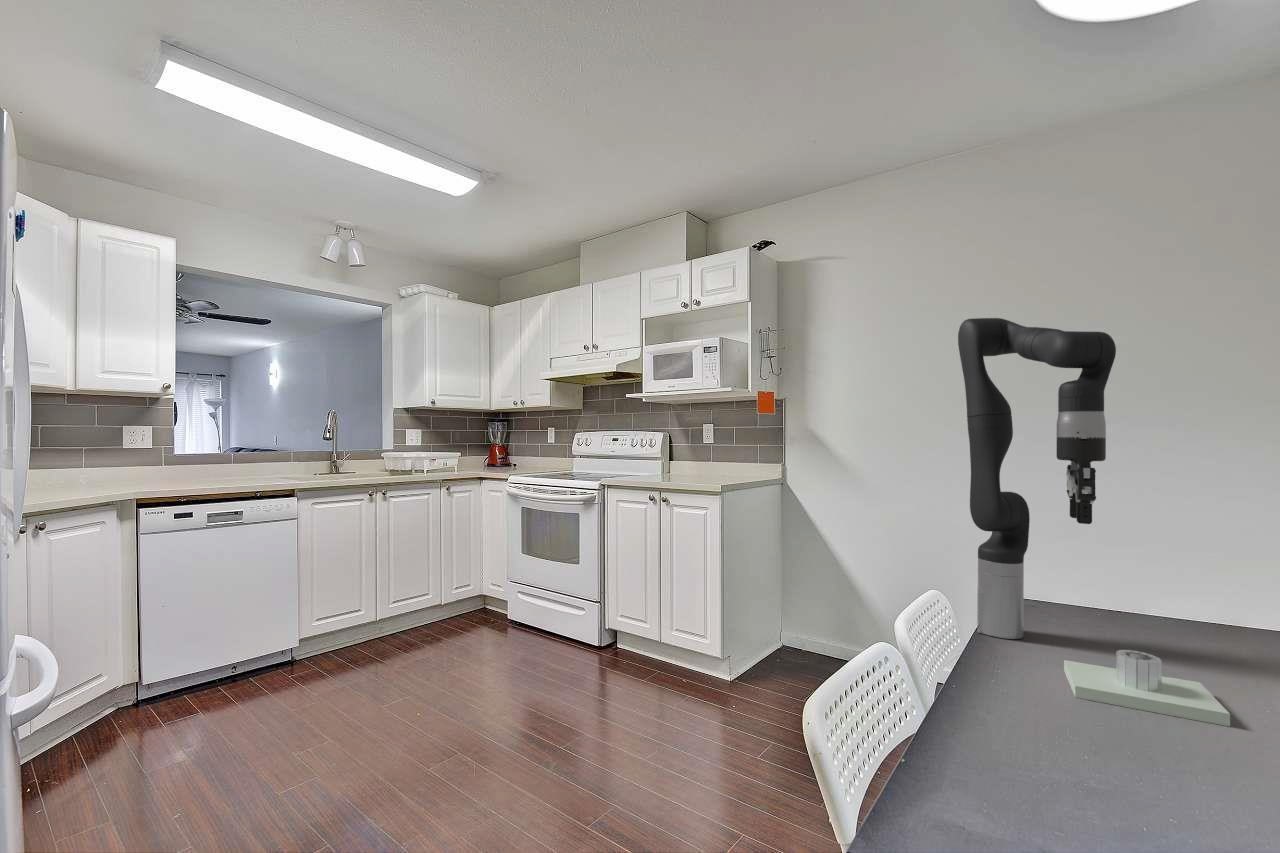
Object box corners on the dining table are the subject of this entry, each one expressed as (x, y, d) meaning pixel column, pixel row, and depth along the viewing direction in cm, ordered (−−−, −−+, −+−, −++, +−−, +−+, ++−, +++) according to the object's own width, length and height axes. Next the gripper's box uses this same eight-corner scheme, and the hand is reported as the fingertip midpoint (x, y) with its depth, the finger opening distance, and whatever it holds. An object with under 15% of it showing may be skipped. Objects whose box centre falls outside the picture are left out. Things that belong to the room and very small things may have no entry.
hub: (1120, 686, 103) (1120, 658, 103) (1113, 674, 108) (1113, 647, 108) (1165, 694, 100) (1165, 665, 100) (1155, 681, 105) (1155, 654, 105)
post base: (1075, 697, 103) (1075, 657, 103) (1064, 670, 115) (1064, 634, 115) (1230, 726, 93) (1230, 682, 93) (1199, 693, 105) (1199, 654, 106)
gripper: (1052, 435, 120) (1051, 515, 119) (1061, 435, 107) (1061, 523, 107) (1098, 436, 116) (1097, 518, 116) (1113, 435, 103) (1113, 527, 103)
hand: (1080, 520), depth 111 cm, fingers open, 8 cm apart
